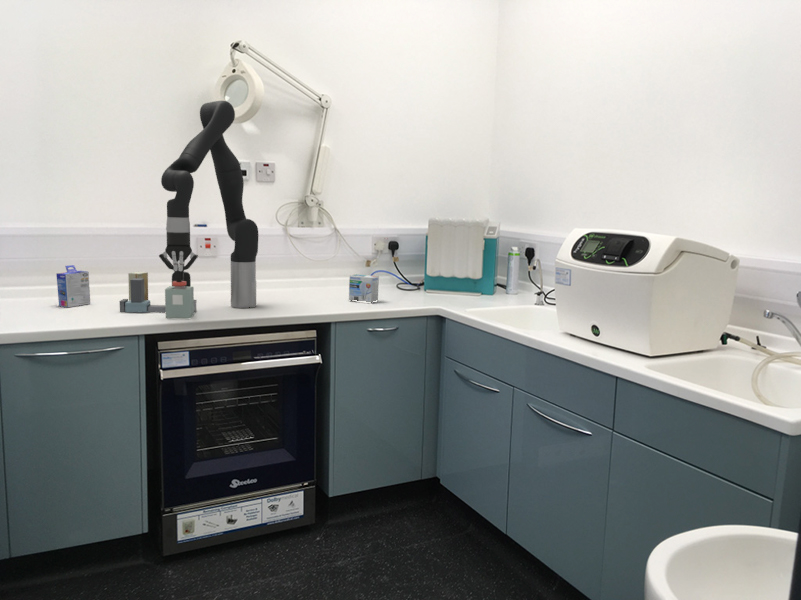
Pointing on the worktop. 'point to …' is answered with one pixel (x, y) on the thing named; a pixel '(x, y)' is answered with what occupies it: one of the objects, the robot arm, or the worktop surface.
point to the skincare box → (139, 275)
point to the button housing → (179, 302)
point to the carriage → (137, 297)
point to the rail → (149, 307)
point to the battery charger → (186, 278)
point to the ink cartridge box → (73, 287)
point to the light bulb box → (363, 288)
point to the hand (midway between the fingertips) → (179, 281)
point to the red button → (179, 284)
